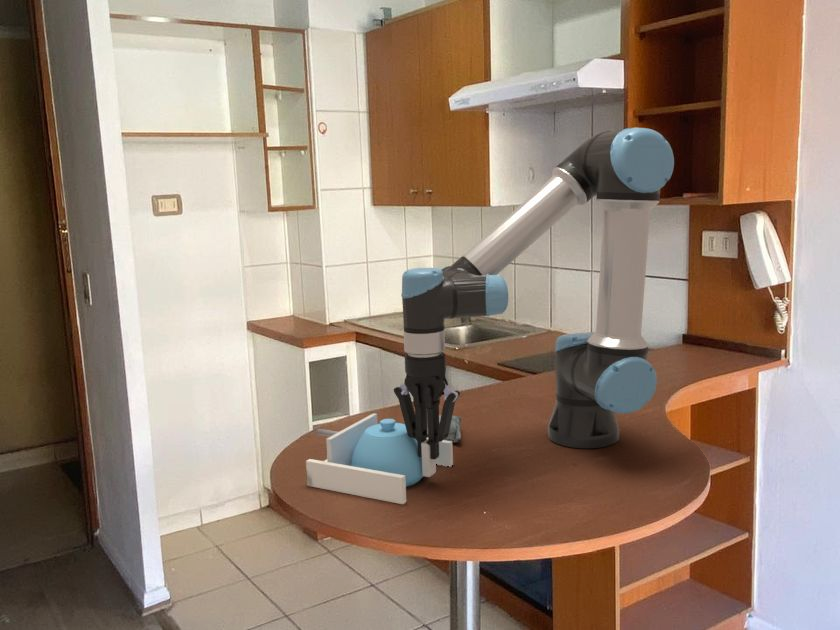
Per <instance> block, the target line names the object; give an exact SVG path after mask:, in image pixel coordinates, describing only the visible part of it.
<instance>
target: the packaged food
mask: <svg viewBox="0 0 840 630" xmlns="http://www.w3.org/2000/svg"><path fill="white" fill-rule="evenodd" d="M440 419H441V414H439V424H440ZM461 422H462V418H461V417H460V416H457V415H452V420H451V425H450V430H449V435H448V437H447V438H446V439H444V440H447V441H452V444H453V443H459V441H460V440H461V439H462V429H461ZM427 430H428V420H427ZM427 438H428V437H427Z"/></svg>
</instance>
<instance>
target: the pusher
mask: <svg viewBox="0 0 840 630" xmlns="http://www.w3.org/2000/svg"><path fill="white" fill-rule="evenodd" d="M376 424H379V423H378V414H377V413H371V414H370V415H367V416H366V417H364V418H362V419H360V420H358V421H356V422H354V423H353V424H351V425H349V426H347V427H345V428H343V429H341V430H340V431H336V430H330V429H324V428H317V429H316V435H317V436H324V437H327V438H325V441H326V455H327V458H326V459H327V460H328V462H331V463H336V464H342V465H348V466H351V462H352V456H353V453H354V450H355V447H356V445H357V443H358V441H359V440H360V438H361V436H362V434H363V433H364V432H365V430H366V429H367V428H369V427H370V426H373V425H376Z"/></svg>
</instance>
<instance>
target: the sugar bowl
mask: <svg viewBox="0 0 840 630" xmlns="http://www.w3.org/2000/svg"><path fill="white" fill-rule="evenodd" d="M351 466H354V467H359V468H365V469H371V470H377V471H382V472H388V473H394V474H400V475H405V481H406V488H407V487H410V486H413V485H415V484H417V483H418V482H420V481H421V479H423V478H424V476H423V474H422V458H421V457H419V456H418V443H417V440H416V439H415V438H413V437H411V438H410V437H409V436H408V434H407V430H406V426H405V423H400V422H396V420H395V419H393V418H383V419H381V420H379V423H378V424H376V425H373V426H370V427H369V428H367V429H366V430H365V432H364V433H363V434H362V436H361V438H360V440H359V441H358V443H357V445H356V447H355V450H354V453H353V456H352V462H351Z"/></svg>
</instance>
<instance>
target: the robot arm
mask: <svg viewBox="0 0 840 630" xmlns="http://www.w3.org/2000/svg"><path fill="white" fill-rule="evenodd" d="M674 166H675V157H674V153H673V148H672V147H671V144H670V143H669V141H667V139H666V138H665V137H664V136H663V135H662V134H661V133H660V132H658V131H656V130H654V129H651V128H648V127H647V128H646V127H637V126H636V127H628V128H624V129H615V130H608V131H601V132H599V133H597V134H594V135H593V136H591V137H589V138H588V139H587V140H585V141H584V142H582V143H581V144H580V145H579V146H578V147H577V148H576V149H574V150H573V151H572V152H571V153H570V154H569V155H568V156H566V157H565V158H564V159H563V160H562V161H561V162H560V163H559V164H558V165H556V166H555V167H554V168H553V169H552V175H551V177H550V178H549V179H548V180H547V181H545V183H544V184H542V185H541V186H540V187H539V188H538V189H537V190H536V191H534V192H533V193H532V194H531V195H529V197H528V198H526V200H523V202H522V203H520V205H518V206H517V207H516V208H515V209H514V210H513V211H511V213H510V214H509V215H507V216H506V217H505V218H504V219H503V220H502V221H500V222H499V223H498V224H497V225H496V226H495V227H494V228H492V230H490V231H489V232H488V233H487V234H486V235H485V236H483V237H482V238H481V239H480V240H479V241H478V242H476V243H475V245H474V246H472V247H471V248H470V249H469V250H468V251H467V252H466V253H464V254H463V255H462V256H461V257H460V258H458V259H457V260H456V261H455V262H454V263H453V264H451V265H448V266H444V267H441V268H439V267H415V268H410V269H407V270H405V271H404V272H403V273H402V276H401V301H402V320H403V322H402V323H403V350H404V352H405V355H404V372H405V373H406V374H405V375H406V376H405V378H404V383H402V384H400V385H398V386H396V387H394V388H393V393H394V394H395V397H396V398H397V399H398V403H399V406H400V410H401V414H402V418H403V421H404V424H405V426H406V430H407V434H408V436H409V437H410V438H411V437H413V438H415V439H416V440H417V443H418V456H419V457H421V458H422V474H423V477H426V478H430V477H432V476H433V475H434V474H436V473H437V465H436V459H437V458H438V457H439V442H441V441H443V440H444V439H446V438H447V437H448V435H449V430H450V425H451V420H452V415H453V414H454V410H455V405H456V402H457V400H458V398H459V397H460V395H461V393H460V391H459V390H454V389H452V388H451V387H450V386H449V382H448V380H447V378H446V373H447V372H446V370H447V367H446V365H447V364H446V354H445V353H444V351H445V349H446V343H445V342H446V341H445V339H446V337H445V334H446V333H445V329H446V327H445V320H451V319H452V320H453V319H462V318H463V319H464V318H476V317H477V318H478V317H491V316H496V315H502V314H504V313H505V311H506V310H507V308H508V306H509V305H508V304H509V290H508V289H509V288H508V284H507V282H506V279H505V278H504V277H503V276H502V275H500V273H501V272H502V271H503V270H504V269H505V268H506V267H508V266H509V265H510V264H511V263H512V262H514V260H516V259H517V258H518V257H519V256H520V255H521V254H522V253H523V252H525V251H526V250H527V249H528V248H529V247H531V245H533V243H535V242H536V241H537V240H539V238H541V237H542V236H543V235H544V234H545V233H547V232H548V231H549V230H550V228H552V227H553V226H554V225H555V224H557V223H558V222H559V221H560V220H561V219H563V217H565V215H567V214H568V213H569V212H570V211H572V209H573V208H575V207H576V206H585V204H587V203H588V202H589V201H590V200H591V199H593V198H594V197H596V202H597V204H598V205H600V207H602V209H603V217H602V219H603V220H602V232H601V244H600V245H601V247H600V261H599V262H600V264H599V266H600V267H599V280H598V296H597V308H596V309H597V312H596V324H595V325H596V326H595V327H596V328H595V331H592V332H591V331H590V332H574V333H565V334H562V335H559V336H558V337H557V338H556V341H555V348H554V354H555V355H554V356H555V357H554V358H555V404H554V407H553V410H552V413H551V416H550V420H549V422H548V426H547V438H548V440H550V441H551V442H552V443H555V444H557V445H561V446H564V447H568V448H569V447H570V448H575V449H601V448H606V447H609V446H612V445H614V444H616V443H617V442H618V441H619V439H620V428H619V424H618V421H617V418H616V415H615V413H616V414H620V415H626V414H627V415H628V414H631V413H636V412H637V411H640V410H641V409H643V407H644V406H645V405H646V404H648V403H649V402H650V400H651V399H652V398H653V396H654V394H655V392H656V388H657V384H658V377H657V372H656V370H655V368H654V367H653V365H652V364H651V362H649V361H648V357H649V356H648V354H649V343H648V341H647V340H646V339H645V338H644V337H643V335H642V326H643V313H644V301H645V285H646V284H645V283H646V271H647V260H648V259H647V257H648V246H649V245H648V244H649V232H650V231H649V230H650V220H651V218H650V216H651V211H652V209H653V208H655V207H656V206H657V205H658V204H660V198H661V197H660V195H661V189H662V188H663V187H665V185H666V184H667V182H668V181H670V179H671V177H672V174H673V172H674V168H675V167H674ZM443 394H444V395H443ZM411 396H412V397H411ZM442 396H443V400H444V402H443V405H442V410H441V414H440V403H441V397H442ZM412 400H413V401H412ZM439 415H441V419H440V424H439ZM427 420H428V430H427ZM427 437H428V439H427Z"/></svg>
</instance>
